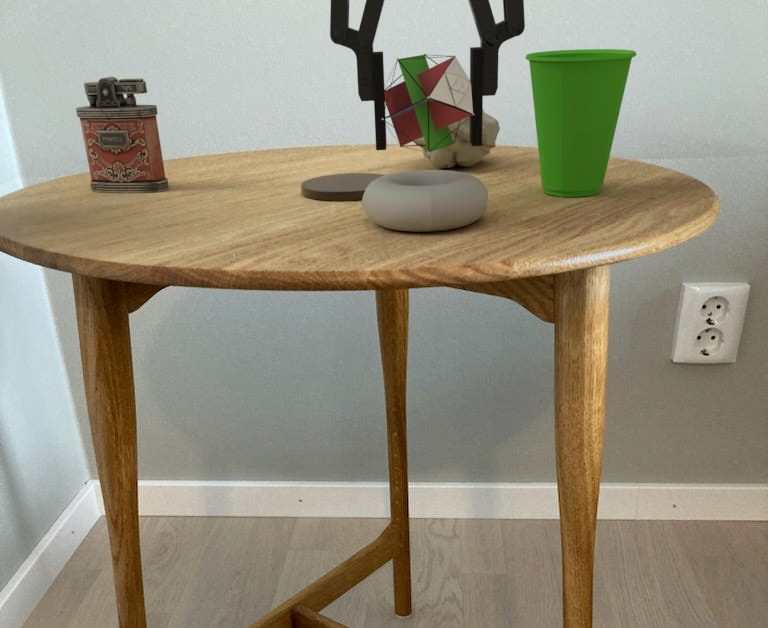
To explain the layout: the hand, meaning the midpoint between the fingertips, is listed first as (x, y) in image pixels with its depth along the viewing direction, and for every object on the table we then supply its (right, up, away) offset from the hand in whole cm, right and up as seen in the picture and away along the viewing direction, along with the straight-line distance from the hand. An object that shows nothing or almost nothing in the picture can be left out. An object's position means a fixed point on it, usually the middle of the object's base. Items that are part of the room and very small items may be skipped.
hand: (428, 144), depth 70 cm
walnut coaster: (-7, +2, +15) cm, 17 cm away
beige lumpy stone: (+4, +8, +25) cm, 27 cm away
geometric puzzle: (0, 0, 0) cm, 0 cm away
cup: (+13, 0, +11) cm, 17 cm away
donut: (0, -5, +3) cm, 6 cm away
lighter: (-29, +4, +20) cm, 35 cm away
